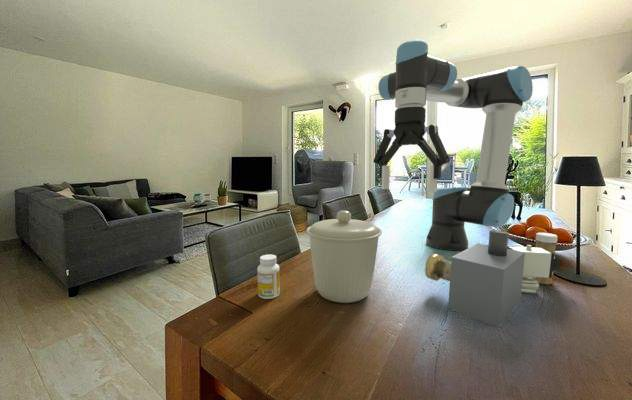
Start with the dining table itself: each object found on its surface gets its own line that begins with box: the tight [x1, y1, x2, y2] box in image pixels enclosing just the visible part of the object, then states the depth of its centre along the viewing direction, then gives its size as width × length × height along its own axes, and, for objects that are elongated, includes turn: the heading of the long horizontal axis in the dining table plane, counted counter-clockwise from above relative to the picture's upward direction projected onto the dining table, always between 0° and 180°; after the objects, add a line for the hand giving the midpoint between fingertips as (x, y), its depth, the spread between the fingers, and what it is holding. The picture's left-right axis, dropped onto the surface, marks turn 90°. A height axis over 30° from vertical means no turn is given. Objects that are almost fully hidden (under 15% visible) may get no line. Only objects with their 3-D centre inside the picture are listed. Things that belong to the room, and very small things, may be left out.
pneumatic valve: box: [507, 244, 560, 294], centre depth 73 cm, size 6×12×12 cm, turn 78°
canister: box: [306, 210, 383, 304], centre depth 70 cm, size 18×18×21 cm
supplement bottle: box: [256, 254, 281, 300], centre depth 70 cm, size 5×5×10 cm
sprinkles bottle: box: [532, 232, 558, 285], centre depth 78 cm, size 5×5×14 cm
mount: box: [447, 243, 525, 328], centre depth 65 cm, size 10×16×12 cm, turn 132°
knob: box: [424, 252, 451, 282], centre depth 69 cm, size 9×6×6 cm
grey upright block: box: [487, 229, 509, 256], centre depth 65 cm, size 4×4×5 cm
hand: (407, 190), depth 76 cm, fingers open, 13 cm apart
